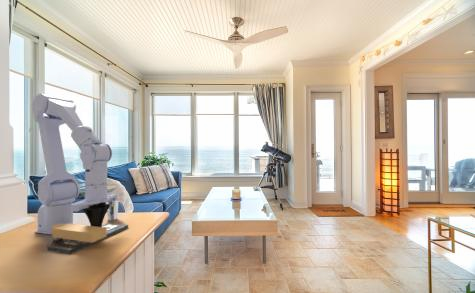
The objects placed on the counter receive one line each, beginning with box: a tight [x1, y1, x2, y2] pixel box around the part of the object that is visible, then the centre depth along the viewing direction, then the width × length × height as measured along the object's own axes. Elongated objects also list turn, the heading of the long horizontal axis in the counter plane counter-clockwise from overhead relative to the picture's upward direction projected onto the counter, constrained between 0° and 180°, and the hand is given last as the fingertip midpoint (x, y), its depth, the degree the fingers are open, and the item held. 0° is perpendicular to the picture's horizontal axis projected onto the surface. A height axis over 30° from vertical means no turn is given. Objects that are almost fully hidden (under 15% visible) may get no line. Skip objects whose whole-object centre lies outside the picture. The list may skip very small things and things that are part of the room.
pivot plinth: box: [52, 236, 64, 244], centre depth 67 cm, size 2×2×2 cm
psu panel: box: [46, 222, 129, 255], centre depth 70 cm, size 8×20×1 cm, turn 164°
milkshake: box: [106, 192, 121, 222], centre depth 87 cm, size 5×5×10 cm
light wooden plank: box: [50, 223, 106, 244], centre depth 65 cm, size 16×4×2 cm, turn 74°
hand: (96, 229), depth 70 cm, fingers closed
